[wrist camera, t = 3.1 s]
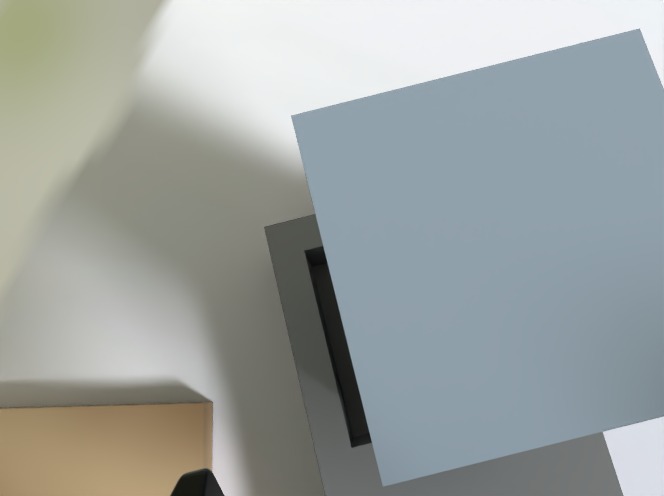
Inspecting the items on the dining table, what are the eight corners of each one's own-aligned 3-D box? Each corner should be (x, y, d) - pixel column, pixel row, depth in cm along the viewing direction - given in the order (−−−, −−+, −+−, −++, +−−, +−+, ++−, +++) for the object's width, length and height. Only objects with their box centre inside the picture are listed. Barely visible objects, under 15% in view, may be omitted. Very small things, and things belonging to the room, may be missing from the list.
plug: (501, 377, 18) (781, 386, 6) (369, 410, 18) (383, 486, 6) (463, 248, 18) (639, 28, 7) (336, 279, 18) (290, 115, 7)
